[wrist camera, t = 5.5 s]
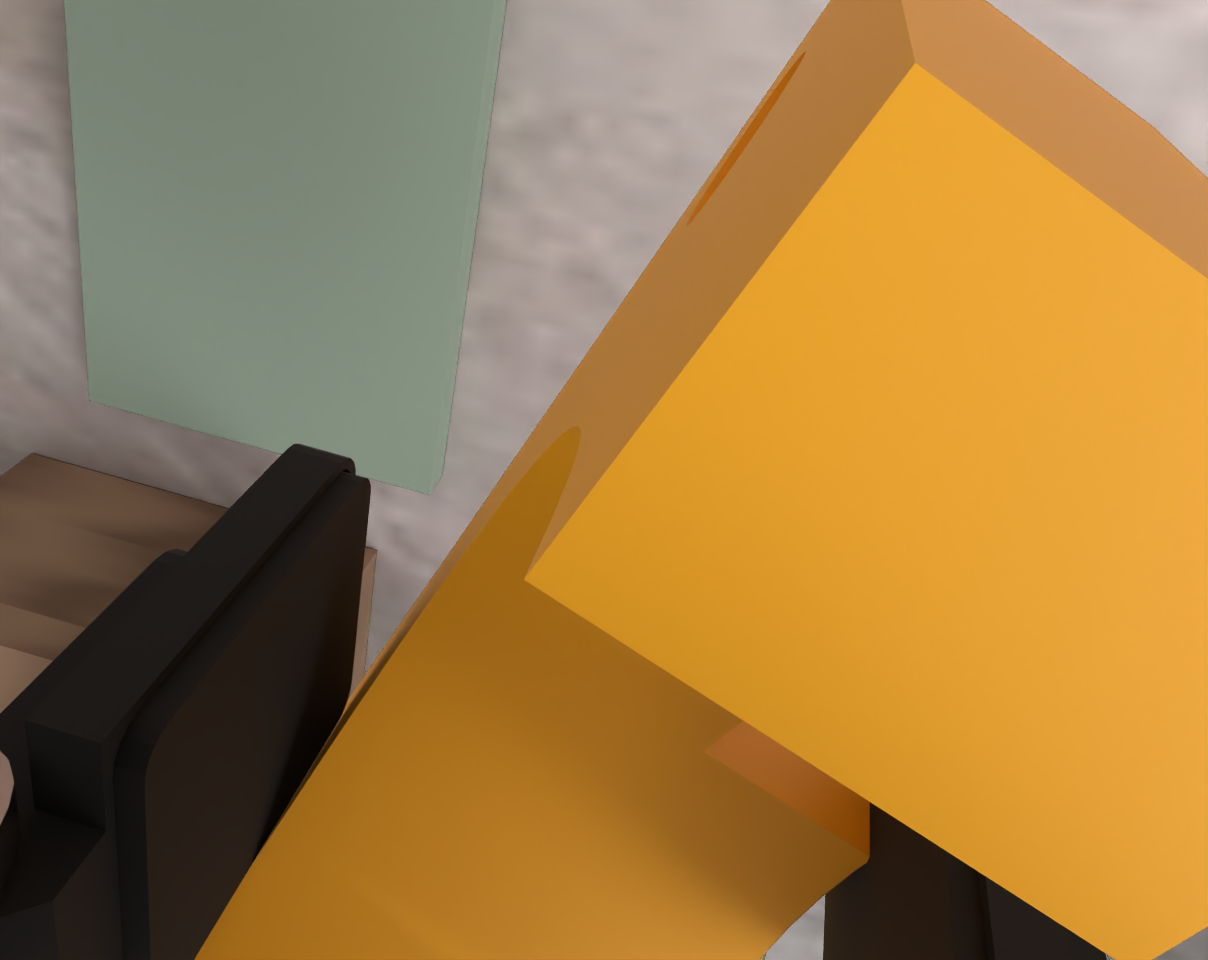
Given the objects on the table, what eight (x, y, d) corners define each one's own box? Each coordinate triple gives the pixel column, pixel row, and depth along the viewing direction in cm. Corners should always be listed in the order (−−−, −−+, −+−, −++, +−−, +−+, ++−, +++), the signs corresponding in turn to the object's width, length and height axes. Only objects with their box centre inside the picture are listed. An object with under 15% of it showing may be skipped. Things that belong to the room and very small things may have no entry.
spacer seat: (535, -209, 20) (521, -211, 19) (442, 475, 28) (429, 495, 27) (76, -314, 21) (43, -321, 20) (111, 384, 29) (89, 400, 28)
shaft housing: (376, 550, 30) (260, 722, 24) (352, 785, 34) (251, 975, 29) (31, 453, 30) (-163, 597, 25) (55, 697, 35) (-103, 865, 29)
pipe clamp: (560, 964, 15) (377, 1622, 9) (281, 796, 14) (-88, 1385, 9) (1327, 258, 9) (2138, 967, 3) (882, -77, 8) (913, 62, 3)
